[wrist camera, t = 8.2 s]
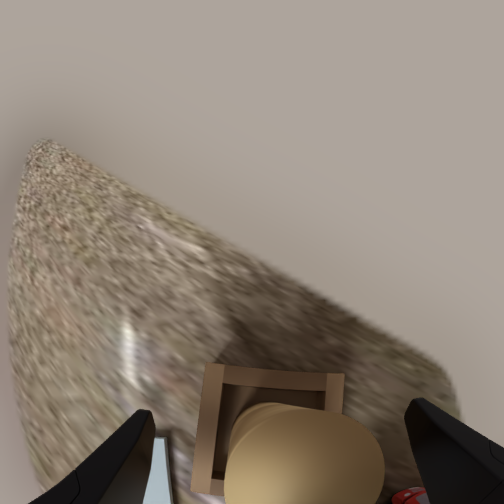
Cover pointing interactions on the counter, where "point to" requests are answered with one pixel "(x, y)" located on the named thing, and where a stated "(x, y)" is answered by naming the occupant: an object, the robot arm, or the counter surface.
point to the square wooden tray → (241, 396)
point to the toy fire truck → (411, 496)
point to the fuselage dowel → (301, 458)
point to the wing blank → (159, 475)
